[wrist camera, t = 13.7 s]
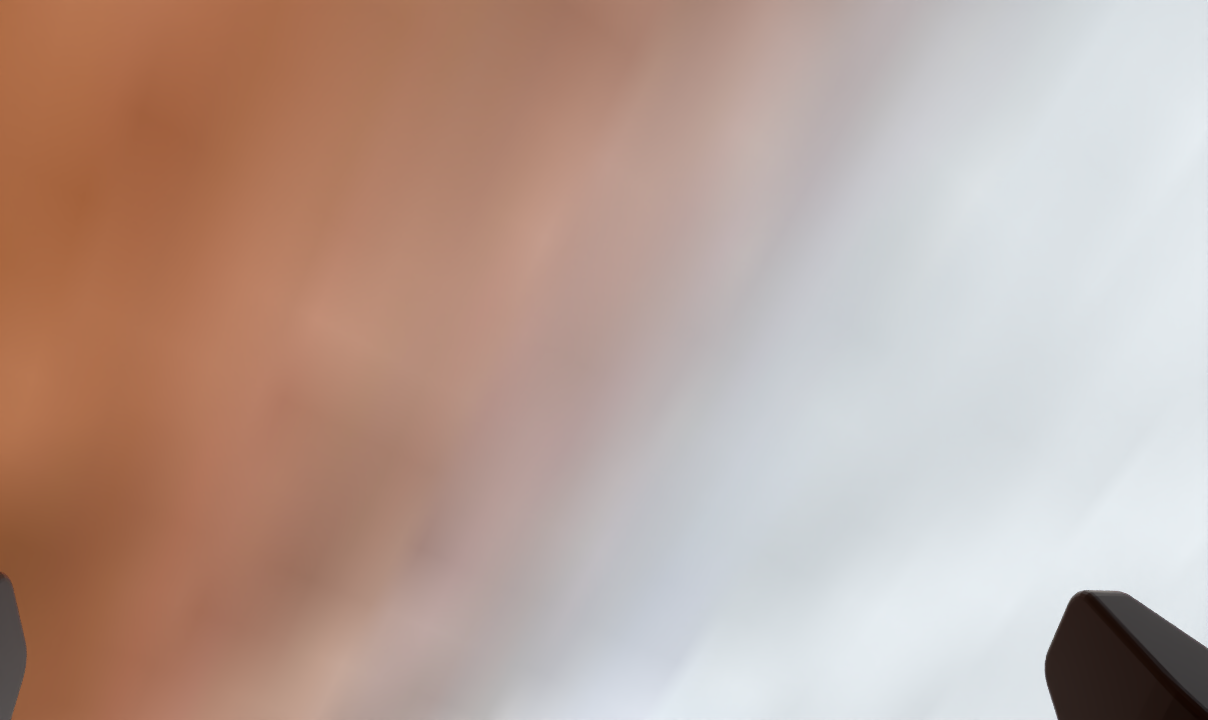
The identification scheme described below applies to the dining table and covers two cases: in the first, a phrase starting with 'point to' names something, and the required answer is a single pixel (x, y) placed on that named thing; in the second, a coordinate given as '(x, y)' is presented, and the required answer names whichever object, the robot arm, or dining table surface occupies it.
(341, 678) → the dining table surface
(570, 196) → the dining table surface
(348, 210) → the dining table surface
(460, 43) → the dining table surface
